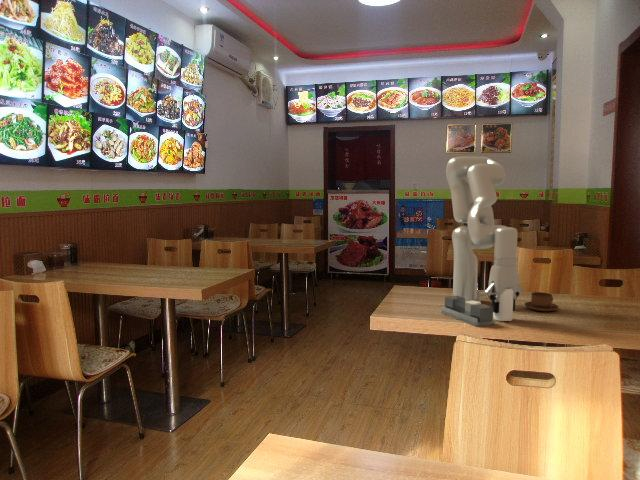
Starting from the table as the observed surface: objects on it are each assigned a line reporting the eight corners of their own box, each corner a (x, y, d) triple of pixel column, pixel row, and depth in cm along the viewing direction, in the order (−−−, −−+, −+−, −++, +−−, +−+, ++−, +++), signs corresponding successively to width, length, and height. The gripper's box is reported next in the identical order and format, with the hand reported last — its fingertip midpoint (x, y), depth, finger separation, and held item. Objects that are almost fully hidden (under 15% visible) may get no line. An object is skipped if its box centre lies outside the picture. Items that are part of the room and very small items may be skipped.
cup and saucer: (532, 304, 204) (532, 289, 203) (562, 309, 195) (563, 294, 194) (519, 309, 195) (519, 294, 195) (550, 315, 187) (551, 299, 186)
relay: (472, 310, 194) (472, 300, 193) (480, 312, 191) (481, 302, 190) (463, 312, 191) (464, 302, 190) (472, 314, 188) (472, 304, 187)
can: (510, 322, 175) (511, 289, 174) (491, 320, 179) (492, 287, 177) (514, 318, 181) (515, 286, 179) (495, 316, 184) (496, 284, 183)
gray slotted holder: (458, 311, 192) (459, 295, 191) (494, 324, 173) (495, 306, 173) (441, 313, 189) (441, 297, 188) (476, 326, 170) (476, 308, 170)
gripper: (516, 259, 184) (514, 307, 186) (478, 261, 178) (476, 311, 180) (531, 262, 177) (529, 311, 179) (492, 264, 171) (490, 316, 173)
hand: (503, 310), depth 179 cm, fingers closed on can, 6 cm apart
